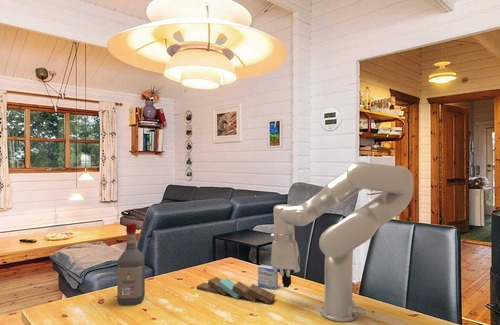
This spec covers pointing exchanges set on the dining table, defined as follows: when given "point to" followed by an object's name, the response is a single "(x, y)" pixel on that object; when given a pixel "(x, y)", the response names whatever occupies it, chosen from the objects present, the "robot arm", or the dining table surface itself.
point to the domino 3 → (228, 287)
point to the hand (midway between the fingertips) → (286, 286)
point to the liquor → (131, 271)
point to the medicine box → (267, 277)
